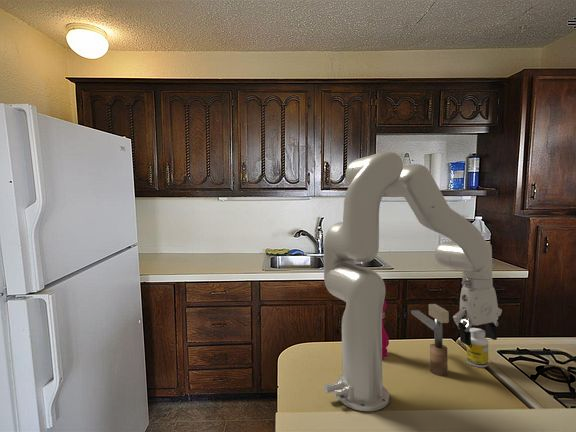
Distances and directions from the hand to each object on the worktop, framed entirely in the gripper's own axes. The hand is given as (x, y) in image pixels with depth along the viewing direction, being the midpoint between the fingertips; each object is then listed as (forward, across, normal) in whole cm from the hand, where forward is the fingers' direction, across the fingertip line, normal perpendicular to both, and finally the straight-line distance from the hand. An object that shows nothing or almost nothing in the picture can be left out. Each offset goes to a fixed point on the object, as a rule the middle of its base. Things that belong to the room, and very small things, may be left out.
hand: (478, 340), depth 93 cm
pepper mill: (+6, -25, +15) cm, 30 cm away
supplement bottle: (+7, -1, 0) cm, 7 cm away
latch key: (-1, -13, +6) cm, 14 cm away
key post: (+6, -15, 0) cm, 16 cm away
